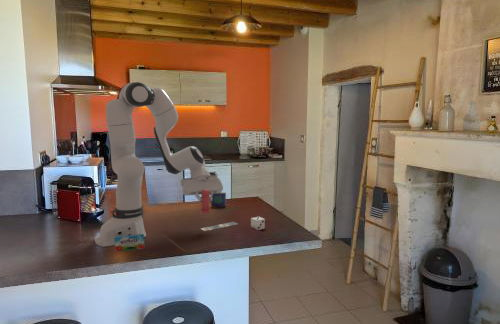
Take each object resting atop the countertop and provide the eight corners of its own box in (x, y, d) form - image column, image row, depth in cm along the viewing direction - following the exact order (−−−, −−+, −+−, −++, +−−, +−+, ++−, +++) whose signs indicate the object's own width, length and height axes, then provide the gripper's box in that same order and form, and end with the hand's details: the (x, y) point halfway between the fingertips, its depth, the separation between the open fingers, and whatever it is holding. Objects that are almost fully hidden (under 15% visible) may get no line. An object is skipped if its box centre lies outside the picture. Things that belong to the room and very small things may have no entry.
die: (256, 230, 176) (256, 220, 175) (250, 227, 180) (250, 217, 179) (264, 228, 179) (264, 218, 178) (258, 225, 183) (258, 216, 182)
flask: (226, 206, 222) (226, 189, 221) (225, 207, 219) (225, 190, 218) (211, 205, 223) (211, 189, 221) (210, 207, 220) (210, 190, 218)
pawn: (203, 213, 170) (203, 190, 169) (199, 211, 174) (199, 188, 172) (211, 212, 173) (212, 189, 171) (207, 210, 176) (207, 188, 175)
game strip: (206, 235, 168) (206, 233, 168) (194, 228, 178) (194, 227, 178) (244, 227, 181) (244, 225, 181) (231, 221, 190) (231, 219, 190)
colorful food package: (114, 252, 148) (114, 237, 147) (115, 250, 149) (114, 236, 148) (144, 248, 152) (144, 235, 151) (144, 247, 153) (144, 233, 152)
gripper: (181, 174, 173) (186, 198, 165) (220, 173, 182) (226, 195, 174) (178, 182, 177) (183, 205, 170) (217, 180, 186) (223, 202, 179)
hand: (205, 200), depth 172 cm, fingers closed on pawn, 4 cm apart
